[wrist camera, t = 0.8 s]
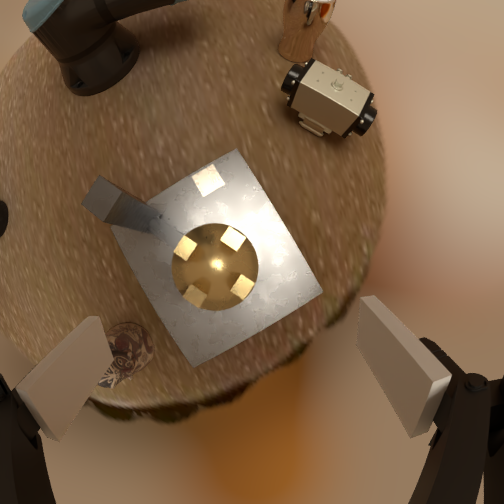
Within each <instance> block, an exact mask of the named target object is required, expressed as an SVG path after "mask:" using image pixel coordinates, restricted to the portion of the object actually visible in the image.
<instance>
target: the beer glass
mask: <svg viewBox="0 0 504 504" xmlns="http://www.w3.org/2000/svg"><path fill="white" fill-rule="evenodd" d="M335 3H336V0H285V3H284V9H283V26H284V33H283V37H282V39H281V41H280V43H279V45H278V51H279V53H280V55H281V56H282V57H284V58H285V59H287V60H289V61H292V62H298V63H301V62H306V61H308V60H310V59H311V58H312V55H313V47H314V44H315V42H316V40H317V38H318V37H319V36H320V34H321V33H322V32H323V30H324V29H325V27H326V26H327V24H328V23H329V20H330V18H331V16H332V13H333V10H334V7H335Z"/></svg>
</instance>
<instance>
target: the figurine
mask: <svg viewBox="0 0 504 504" xmlns="http://www.w3.org/2000/svg"><path fill="white" fill-rule="evenodd" d="M105 335H106V338H107V341H108V344H109V347H110V350H111V353H112V355H113V358H114V361H113V362H112V363H111V365H110V366H109V368H108V369H107V371H106V372H105V373H104V375H103V376H102V378H101V379H100V381H99V382H98V385H99V386H102V387H109V388H112V389H113V388H115V386H116V385H117V384H118V383H119V382H121V381H122V380H123V379H126V378H128V379H129V380H132V378H133V374H134V373H136V372H138V371H140V370H142V369H143V368H144V367H145V366H146V365H147V364H148V363H149V362H150V361H151V360H152V359H153V352H154V348H155V347H154V345H153V343H152V340H151V338H150V336H149V334H148V332H147V330H145V329H144V328H143V327H141V326H139V325H137V324H134V323H122V324H119V325H116V326H115V327H113V328H111V329H110V330H109V331H108V332H107V333H106V334H105Z"/></svg>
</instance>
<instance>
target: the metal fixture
mask: <svg viewBox="0 0 504 504" xmlns="http://www.w3.org/2000/svg"><path fill="white" fill-rule="evenodd" d="M81 204H82V205H83V206H84V207H85V208H87V209H88V210H89V211H90V212H91V213H93V214H94V215H95V216H96V217H98V218H99V219H100V220H101V221H103V222H105V223H109V224H113V225H117V226H121V227H125V228H128V229H132V230H136V231H140V232H144V233H148V234H149V233H150V232H151V233H152V234H154V235H155V236H156V237H158V238H159V239H160V240H162V241H163V242H165V243H166V244H167V245H169V246H170V247H172V248H173V249H174V251H173V252H174V254H173V258H172V276H173V280H174V282H175V285H176V287H177V289H178V290H179V292H180V293H181V295H182V296H183V298H184V299H186V300H187V301H189V302H190V303H191V304H193V305H194V306H196V307H197V308H202V309H205V310H211V311H219V310H225V309H229V308H232V307H234V306H236V305H238V304H239V303H241V302H242V301H243V300H244V299H245V298H246V297H247V296H248V295H249V294H250V293H251V291H252V289H253V288H254V286H255V283H256V281H257V277H258V271H259V264H258V258H257V254H256V251H255V249H254V247H253V245H252V243H251V242H250V240H249V239H248V238H247V237H246V236H245V235H244V234H243V233H242V232H240V231H239V230H237V229H236V228H234V227H231V226H229V225H225V224H220V223H210V224H204V225H201V226H198V227H196V228H194V229H192V230H191V231H189V232H188V233H187V234H186V235H184V234H182V233H181V232H179V231H178V230H177V229H175V228H174V227H172V226H171V225H169V224H168V223H167V222H165V221H164V220H162V219H161V218H159V217H160V216H161V213H160V212H158V211H157V210H155V209H154V208H152V207H151V206H150V205H148V204H147V203H145V202H144V201H142V200H141V199H139V198H137V197H135V196H134V195H132V194H130V193H129V192H127V191H125V190H124V189H122V188H120V187H119V186H117V185H115V184H114V183H112V182H110V181H109V180H107V179H105V178H104V177H102V176H100V175H99V176H98V178H97V179H96V181H95V182H94V184H93V185H92V187H91V189H90V190H89V192H88V193H87V195H86V197H85V198H84V200H83V202H82V203H81Z"/></svg>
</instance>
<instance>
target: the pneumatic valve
mask: <svg viewBox="0 0 504 504" xmlns="http://www.w3.org/2000/svg"><path fill="white" fill-rule="evenodd" d="M342 73H343V71H342V70H341V69H337V70H336V71H335V70H333V69H331V68H330V67H328V66H326V65H324V64H322V63H320V62H318V61H316V60H314V59H312V58H311V59H310V61H309V62H306V64H305V67H303V66H300V65H298V64H294V65H293V66H292V68H291V69H290V70H289V72H288V74H287V75H286V77H285V79H284V81H283V84H282V86H281V91H283V92H285V93H287V94H289V95H290V97H289V96H288V97H287V99H286V100H288V103H287V106H289V107H291V108H293V109H295V110H297V111H299V112H300V113H299V115H298V117H300V118H302V119H304V121H299V124H301V127H303V128H305V129H307V130H309V131H310V132H312V133H314V134H316V135H317V136H319V137H320V136H323V134H324V133H323V131H325V132H326V133H328V134H330V133H331V132H332V131H334V132H335V133H337V134H338V135H340V136H342V137H343V138H346V137H347V136H348V135H349V136H351V134H352V132H351V131H353V132H355V133H356V134H358V135H359V136H362V135H364V134H365V132H366V131H367V130H368V129H369V127H370V126H371V124H372V122H373V121H374V119H375V117H376V114H377V110H376V109H375V108H373V107H372V106H370V103H372V102H373V100H372V99H373V97H374V94H373V93H371V92H370V91H368V90H367V89H365V88H364V87H362V86H360V85H359V84H357V83H356V82H354V81H352V80H351V79H352V76H351V75H350V74H347V75H346V76H344V75H342Z"/></svg>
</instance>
